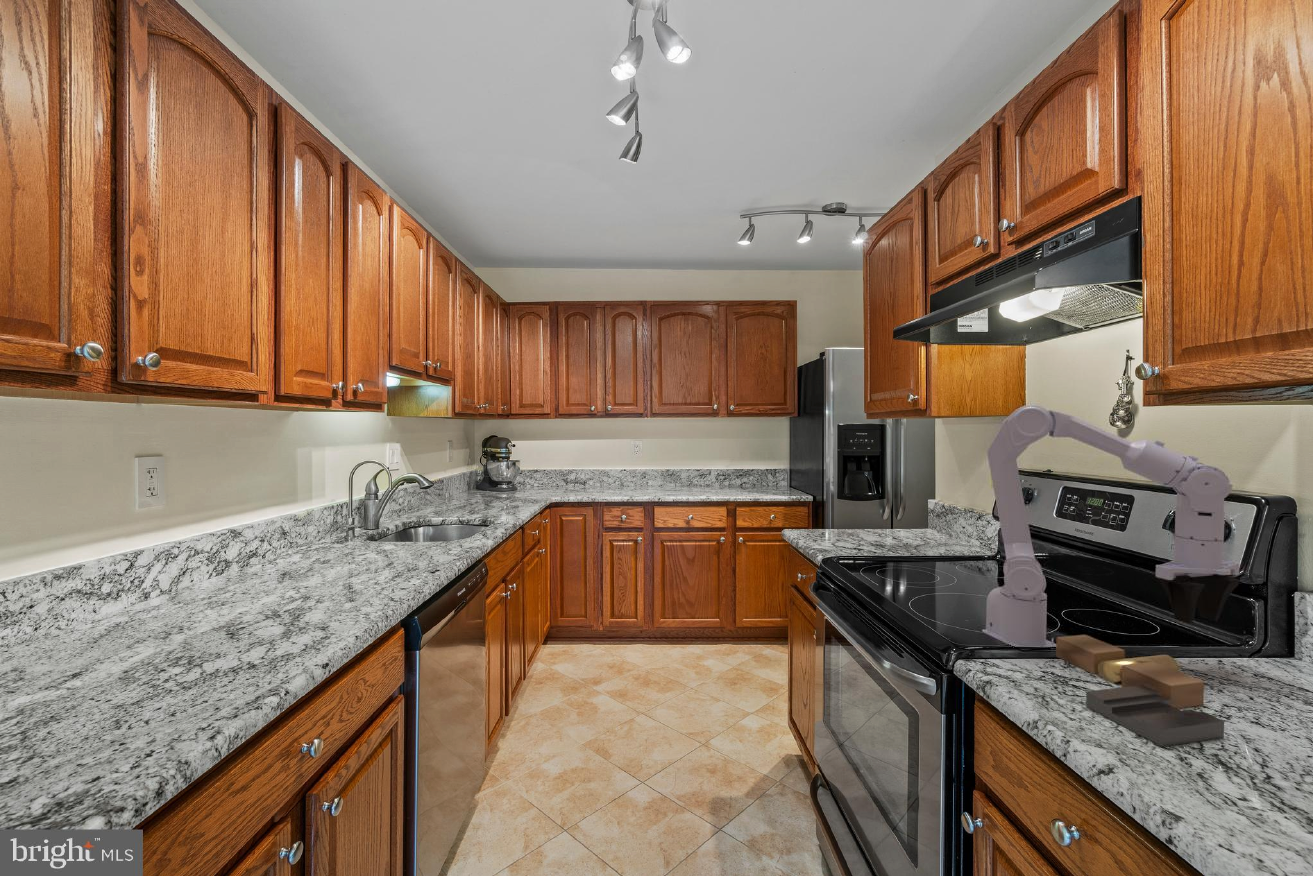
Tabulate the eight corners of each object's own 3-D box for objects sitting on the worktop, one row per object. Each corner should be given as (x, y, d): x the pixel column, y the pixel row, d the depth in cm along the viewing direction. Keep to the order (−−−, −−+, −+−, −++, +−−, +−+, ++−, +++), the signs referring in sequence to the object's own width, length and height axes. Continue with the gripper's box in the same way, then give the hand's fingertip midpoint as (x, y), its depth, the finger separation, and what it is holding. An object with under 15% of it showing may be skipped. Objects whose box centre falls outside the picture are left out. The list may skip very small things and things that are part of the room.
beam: (1056, 656, 96) (1056, 637, 96) (1084, 653, 98) (1085, 634, 97) (1170, 709, 79) (1170, 685, 79) (1203, 705, 80) (1204, 682, 80)
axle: (1117, 686, 86) (1118, 666, 86) (1097, 677, 89) (1097, 657, 89) (1179, 679, 88) (1179, 659, 88) (1157, 670, 91) (1157, 651, 91)
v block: (1086, 706, 80) (1086, 691, 79) (1142, 699, 81) (1142, 685, 81) (1161, 746, 70) (1162, 729, 70) (1223, 737, 72) (1224, 721, 72)
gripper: (1191, 545, 85) (1188, 632, 85) (1263, 540, 88) (1261, 625, 88) (1142, 535, 92) (1140, 616, 92) (1211, 532, 95) (1209, 610, 95)
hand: (1196, 619), depth 91 cm, fingers open, 5 cm apart
